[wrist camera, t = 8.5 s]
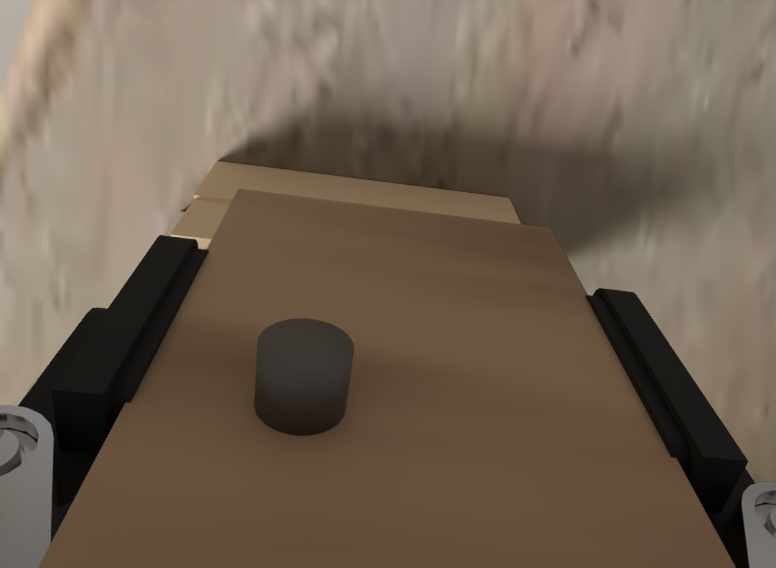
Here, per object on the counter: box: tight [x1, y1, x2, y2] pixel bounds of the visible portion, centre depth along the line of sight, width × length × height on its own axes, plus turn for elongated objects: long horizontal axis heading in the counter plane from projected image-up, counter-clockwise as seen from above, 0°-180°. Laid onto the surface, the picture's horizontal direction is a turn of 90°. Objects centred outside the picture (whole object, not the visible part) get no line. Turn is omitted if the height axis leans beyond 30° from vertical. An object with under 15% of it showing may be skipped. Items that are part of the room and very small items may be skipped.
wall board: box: [164, 161, 521, 249], centre depth 31 cm, size 5×20×15 cm, turn 82°
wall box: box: [38, 189, 736, 568], centre depth 10 cm, size 9×6×10 cm
